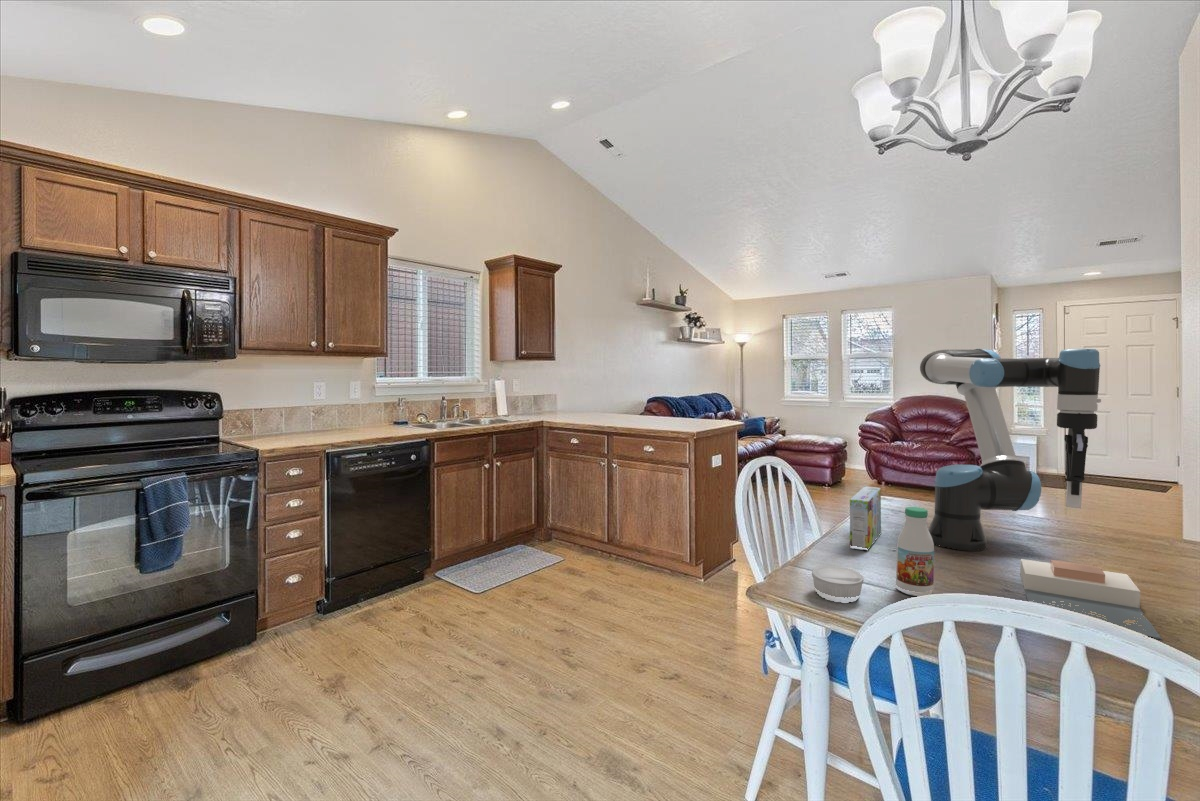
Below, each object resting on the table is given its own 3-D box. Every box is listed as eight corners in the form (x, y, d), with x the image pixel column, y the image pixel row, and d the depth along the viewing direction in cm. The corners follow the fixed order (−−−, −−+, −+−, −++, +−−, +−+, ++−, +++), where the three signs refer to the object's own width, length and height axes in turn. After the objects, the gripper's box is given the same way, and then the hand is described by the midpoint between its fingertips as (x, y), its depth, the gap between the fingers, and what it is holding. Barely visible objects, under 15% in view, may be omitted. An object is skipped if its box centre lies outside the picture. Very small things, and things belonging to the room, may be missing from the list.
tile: (1053, 575, 131) (1054, 567, 130) (1050, 567, 136) (1050, 559, 135) (1104, 583, 126) (1105, 574, 126) (1099, 574, 131) (1099, 566, 131)
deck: (1024, 590, 132) (1025, 573, 132) (1020, 574, 142) (1020, 558, 142) (1139, 609, 121) (1140, 591, 121) (1126, 590, 131) (1126, 574, 131)
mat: (1031, 615, 119) (1031, 613, 119) (1024, 590, 132) (1024, 588, 132) (1161, 639, 108) (1161, 638, 108) (1139, 609, 121) (1139, 608, 121)
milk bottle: (888, 586, 135) (890, 505, 134) (918, 584, 136) (921, 504, 135) (909, 599, 127) (911, 513, 126) (940, 597, 128) (943, 512, 127)
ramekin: (838, 609, 122) (838, 586, 122) (800, 591, 133) (801, 569, 132) (874, 601, 127) (875, 578, 127) (835, 583, 137) (836, 562, 137)
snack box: (862, 531, 180) (863, 485, 179) (881, 534, 177) (882, 487, 176) (848, 549, 163) (849, 498, 162) (868, 552, 160) (870, 500, 159)
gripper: (1103, 414, 128) (1099, 515, 130) (1092, 410, 139) (1088, 503, 141) (1061, 413, 133) (1057, 510, 134) (1053, 409, 143) (1050, 500, 145)
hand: (1073, 507), depth 137 cm, fingers closed
